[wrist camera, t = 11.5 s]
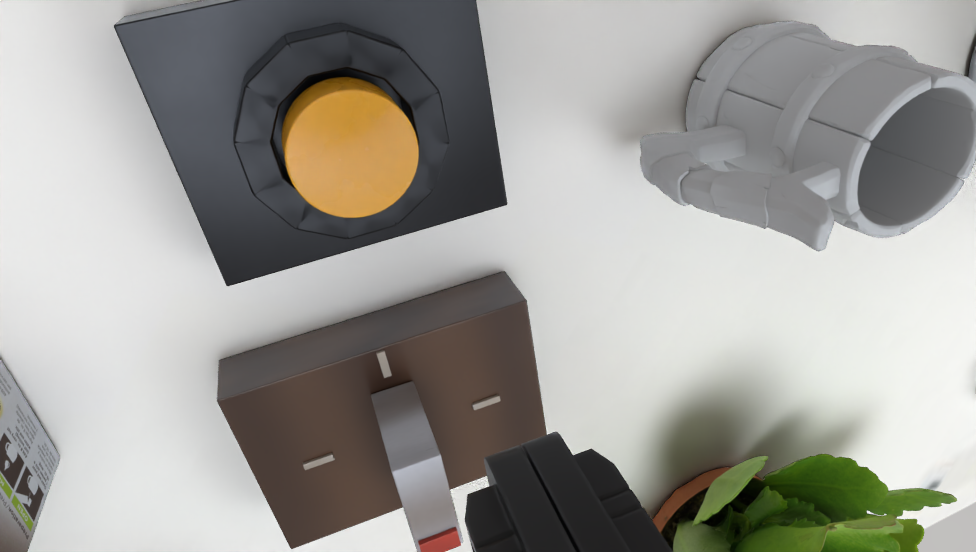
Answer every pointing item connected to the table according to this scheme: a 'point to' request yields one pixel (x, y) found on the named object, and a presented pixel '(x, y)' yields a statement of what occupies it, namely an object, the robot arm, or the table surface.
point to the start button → (349, 147)
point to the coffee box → (21, 467)
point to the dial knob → (417, 469)
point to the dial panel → (350, 411)
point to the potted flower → (793, 510)
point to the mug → (817, 136)
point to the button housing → (273, 88)
